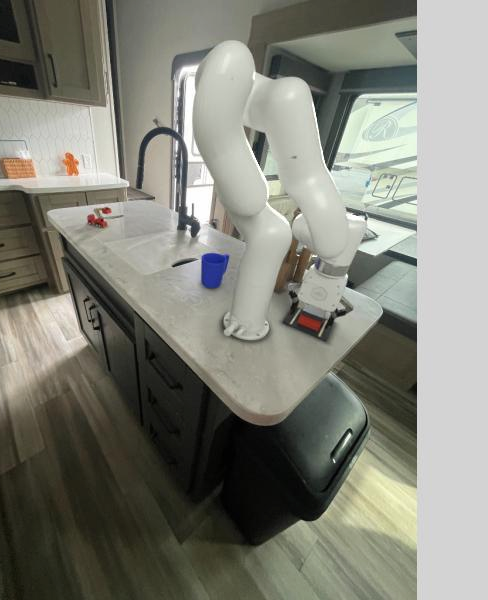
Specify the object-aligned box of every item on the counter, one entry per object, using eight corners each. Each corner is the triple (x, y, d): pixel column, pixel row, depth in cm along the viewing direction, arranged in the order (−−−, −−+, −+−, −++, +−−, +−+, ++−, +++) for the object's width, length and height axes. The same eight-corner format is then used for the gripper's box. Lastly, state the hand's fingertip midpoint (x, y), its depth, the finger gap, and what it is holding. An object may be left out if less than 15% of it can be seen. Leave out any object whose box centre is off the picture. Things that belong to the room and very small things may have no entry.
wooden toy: (278, 293, 90) (300, 220, 76) (262, 284, 94) (280, 213, 80) (303, 280, 98) (327, 212, 84) (287, 273, 102) (308, 206, 88)
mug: (234, 281, 95) (238, 255, 89) (212, 293, 87) (216, 266, 82) (216, 272, 99) (219, 247, 94) (194, 283, 92) (196, 257, 86)
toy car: (323, 319, 79) (304, 311, 82) (328, 308, 77) (308, 301, 79) (316, 333, 74) (296, 324, 76) (321, 322, 71) (300, 313, 74)
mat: (325, 341, 72) (326, 340, 71) (282, 323, 77) (283, 321, 77) (333, 323, 79) (334, 322, 78) (293, 307, 84) (294, 306, 84)
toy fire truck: (91, 222, 134) (88, 202, 129) (113, 227, 130) (111, 207, 124) (86, 223, 132) (83, 203, 126) (108, 229, 127) (106, 209, 122)
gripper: (293, 260, 68) (276, 313, 78) (367, 284, 61) (338, 339, 70) (301, 251, 74) (284, 301, 83) (371, 272, 66) (343, 325, 76)
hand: (309, 319), depth 77 cm, fingers open, 9 cm apart
